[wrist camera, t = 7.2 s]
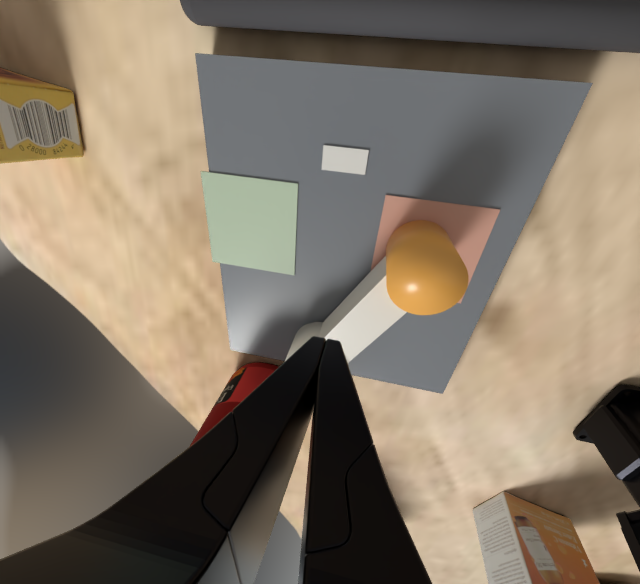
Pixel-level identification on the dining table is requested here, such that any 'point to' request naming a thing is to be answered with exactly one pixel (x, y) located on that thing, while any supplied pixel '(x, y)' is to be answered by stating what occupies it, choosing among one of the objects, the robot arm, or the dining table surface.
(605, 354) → the dining table surface
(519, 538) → the small box
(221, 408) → the canned food
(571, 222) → the dining table surface
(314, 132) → the panel
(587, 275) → the dining table surface
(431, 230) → the lever
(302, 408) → the robot arm
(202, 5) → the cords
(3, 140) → the candy box
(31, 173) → the dining table surface
